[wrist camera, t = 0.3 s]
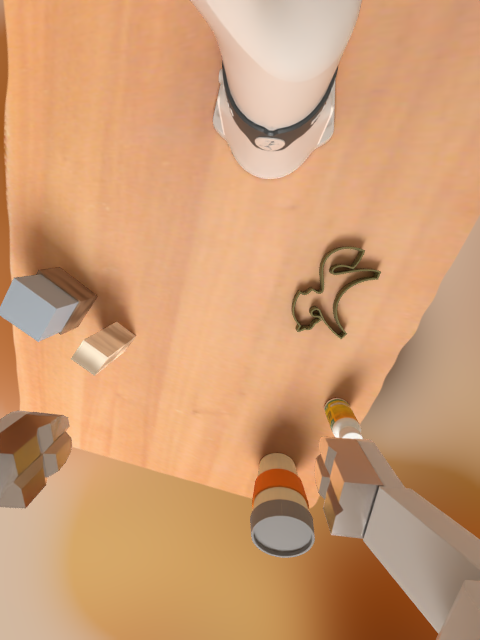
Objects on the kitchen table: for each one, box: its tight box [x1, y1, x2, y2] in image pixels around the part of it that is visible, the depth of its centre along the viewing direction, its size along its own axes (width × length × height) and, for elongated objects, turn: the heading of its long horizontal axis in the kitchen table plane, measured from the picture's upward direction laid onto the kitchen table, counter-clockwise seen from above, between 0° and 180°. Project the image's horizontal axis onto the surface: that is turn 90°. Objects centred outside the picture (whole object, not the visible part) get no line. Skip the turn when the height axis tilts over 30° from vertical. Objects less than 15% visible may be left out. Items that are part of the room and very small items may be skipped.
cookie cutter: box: [292, 247, 381, 339], centre depth 44 cm, size 18×12×2 cm, turn 159°
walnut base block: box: [36, 267, 97, 335], centre depth 47 cm, size 9×9×5 cm
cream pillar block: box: [71, 322, 136, 376], centre depth 46 cm, size 5×5×10 cm
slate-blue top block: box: [0, 274, 78, 342], centre depth 42 cm, size 8×8×5 cm
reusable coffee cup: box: [250, 453, 315, 557], centre depth 52 cm, size 13×12×15 cm
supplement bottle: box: [324, 398, 363, 439], centre depth 48 cm, size 5×5×10 cm
